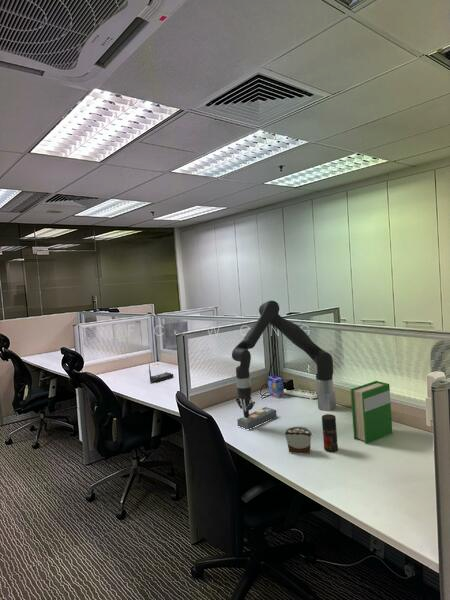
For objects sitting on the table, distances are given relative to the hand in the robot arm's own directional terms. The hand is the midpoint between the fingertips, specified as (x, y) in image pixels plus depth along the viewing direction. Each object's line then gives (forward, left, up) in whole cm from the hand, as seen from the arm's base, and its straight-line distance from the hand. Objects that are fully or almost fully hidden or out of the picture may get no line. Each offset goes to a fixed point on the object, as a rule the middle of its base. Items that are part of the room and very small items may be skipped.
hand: (246, 417), depth 206 cm
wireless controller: (+125, -22, -6) cm, 127 cm away
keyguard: (0, -8, -5) cm, 9 cm away
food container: (-39, +4, -5) cm, 39 cm away
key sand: (0, -10, -3) cm, 11 cm away
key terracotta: (0, -5, -4) cm, 7 cm away
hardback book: (-57, -28, -5) cm, 63 cm away
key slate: (0, -16, -4) cm, 16 cm away
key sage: (0, 0, -3) cm, 3 cm away
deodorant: (-49, -5, -5) cm, 49 cm away
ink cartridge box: (+19, -46, -5) cm, 50 cm away
